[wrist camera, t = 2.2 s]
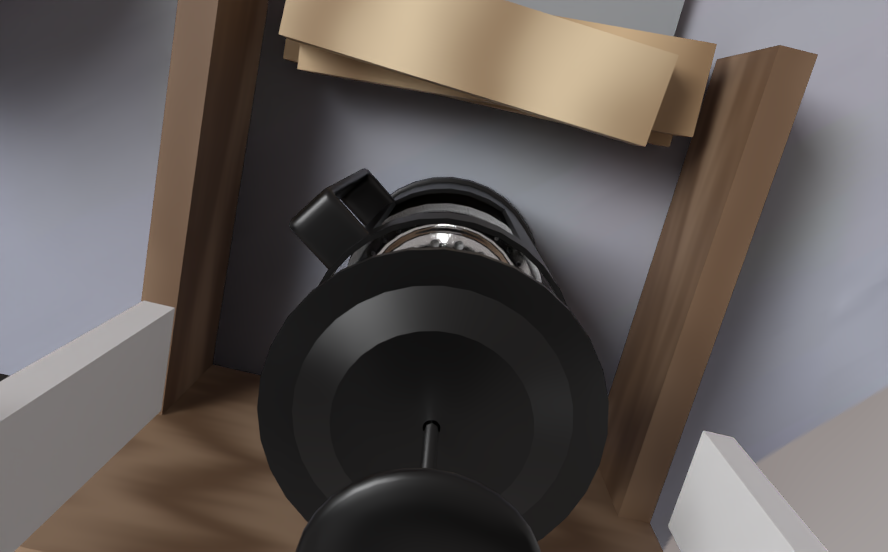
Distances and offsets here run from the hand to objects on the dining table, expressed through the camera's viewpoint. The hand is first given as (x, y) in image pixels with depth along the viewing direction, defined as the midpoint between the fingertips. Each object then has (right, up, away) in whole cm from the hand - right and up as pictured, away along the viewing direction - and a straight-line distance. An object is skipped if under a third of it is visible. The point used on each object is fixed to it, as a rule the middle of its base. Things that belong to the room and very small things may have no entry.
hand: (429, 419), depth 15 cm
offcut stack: (+2, +14, +15) cm, 20 cm away
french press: (0, +4, +17) cm, 18 cm away
